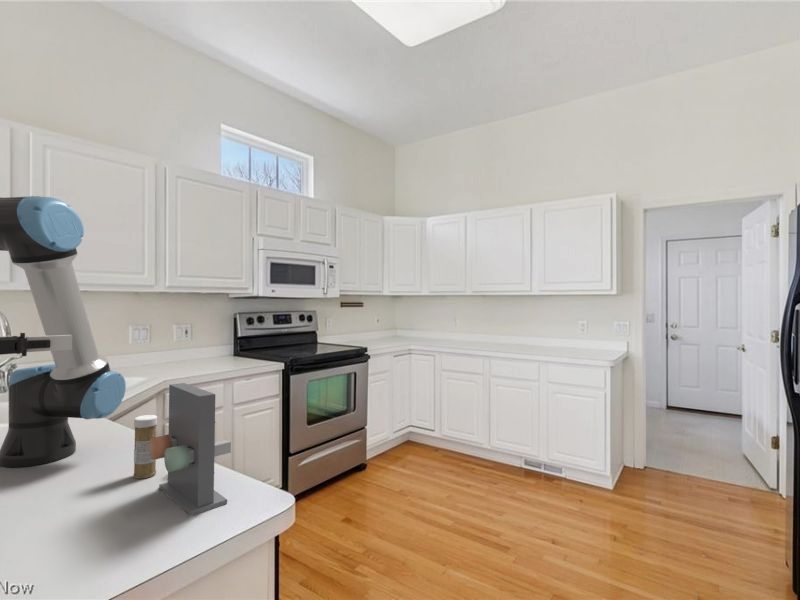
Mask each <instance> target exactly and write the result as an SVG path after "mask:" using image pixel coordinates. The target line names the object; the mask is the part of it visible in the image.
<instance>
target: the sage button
mask: <svg viewBox="0 0 800 600" xmlns="http://www.w3.org/2000/svg"><path fill="white" fill-rule="evenodd" d="M231 450H232V441H230V440H227V439H223V440H219V441H218V440H217V441H215V449H214V458H215V457H218V456H222V455H226V454H230V453H232V451H231ZM194 453H195V449H194V448H192V447H191V448H187V446H186V445H181V446H176V447H171V448H167V449H166V451H165V455H164V458H163V459H164V467H165V468H166V471H167V473H168V472H173V471H177V470H181V469H185V468H187V467H188V466H189V463H191V462H194Z"/></svg>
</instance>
